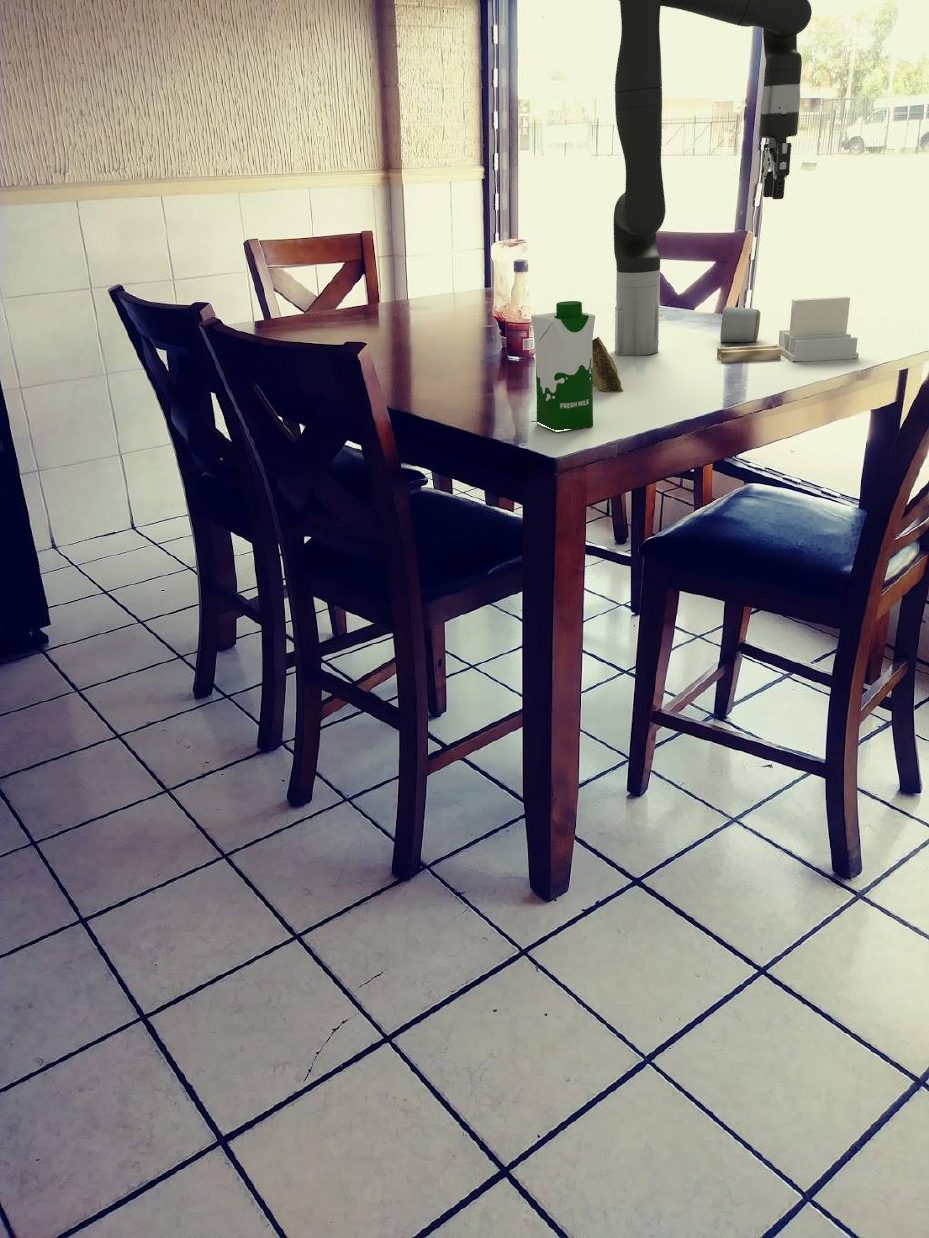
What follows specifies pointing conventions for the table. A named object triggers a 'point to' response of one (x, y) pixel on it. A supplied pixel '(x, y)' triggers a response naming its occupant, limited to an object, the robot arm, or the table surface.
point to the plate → (819, 316)
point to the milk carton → (564, 366)
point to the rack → (817, 347)
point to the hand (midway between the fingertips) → (773, 198)
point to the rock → (604, 368)
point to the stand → (748, 353)
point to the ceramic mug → (740, 324)
